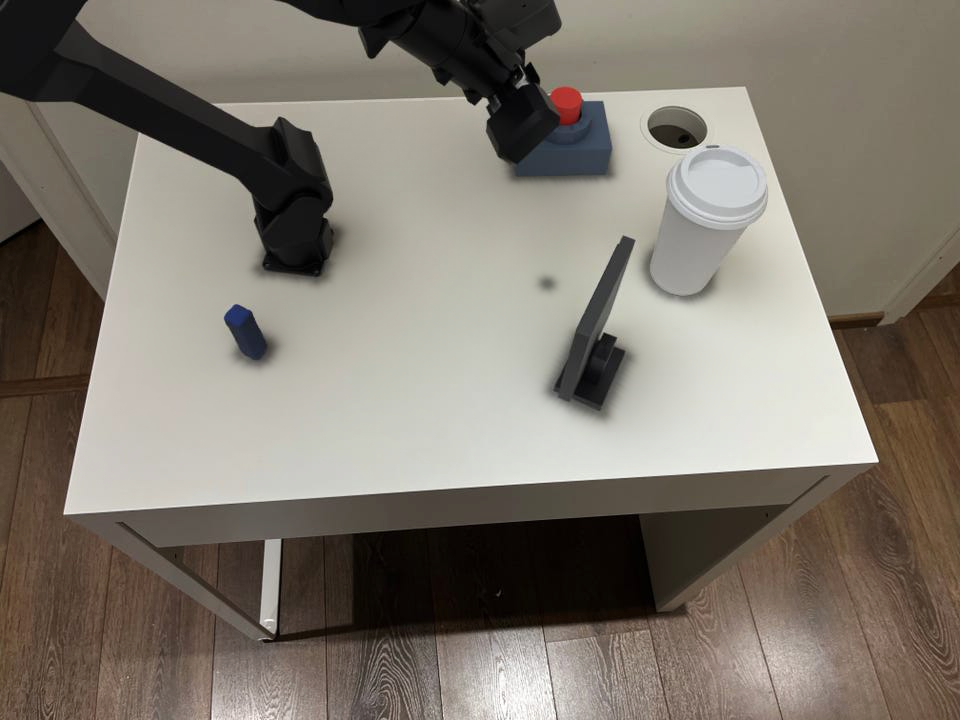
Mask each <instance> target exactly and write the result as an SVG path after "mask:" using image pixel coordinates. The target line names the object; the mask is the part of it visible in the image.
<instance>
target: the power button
mask: <svg viewBox="0 0 960 720" xmlns="http://www.w3.org/2000/svg"><path fill="white" fill-rule="evenodd" d="M549 95H550V98H551V100H552V102H553V103H554V105H555V107H556V109H557V111H558V112H559V114H560V116H561V120H560V123H559V125H572V124H574V123H576V122H577V120H578V118H579V113H580V108H581V103H582V99H583V96H582V94H581V92H580V91H579V90H577V89H576V88H573V87H570V86H559V87H556V88H555V89H553V90H552V91H551V93H550V94H549Z"/></svg>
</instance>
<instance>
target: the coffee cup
mask: <svg viewBox="0 0 960 720" xmlns="http://www.w3.org/2000/svg"><path fill="white" fill-rule="evenodd" d="M665 189H666V194H667V196H666V199H665V204H664V209H663V212H662V216H661V220H660V224H659V228H658V231H657V236H656V240H655V244H654V247H653V252H652V256H651V260H650V264H649V272H650V276H651V278H652V280H653V281H654V283H655V284H656V285H657V286H658V287H659V288H660V289H662V290H663V291H665V292H666V293H668V294H671V295H675V296H682V297H683V296H691V295H695V294H697V293H699V292H701V291H702V290H703V289H704V288H705V287H706V286H707V284H708V283H709V282H710V280H711V279H712V277H713V276H714V274H715V273H716V272H717V270H718V269H719V268H720V265H721V264H722V263H723V262H724V260H725V259H726V258H727V256H728V254H730V252H731V250H733V248H734V246H735V245H736V243H737V242H738V241H739V239H740V238H741V236H742V235H743V234H744V232H746V229H747V228H748V227H749V226H750V225H752V224H754V223H756V222H757V221H758V220H759V219H760V218H761V217H762V216H763V214H764V213H765V211H766V208H767V206H768V201H769V187H768V179H767V174H766V172H765V170H764V168H763V166H762V165H761V163H760V162H759V161H758V160H757V159H756V158H755V157H754V156H753V155H751V154H750V153H748V152H747V151H745V150H743V149H741V148H739V147H737V146H736V147H735V146H732V145H729V144H724V143H723V144H722V143H708V144H704V145H703V144H702V145H699V146H697V147H695V148H694V149H691V150H690V151H689V152H688V153H687V154H685V155H683V156H682V157H680V158H679V159H678V160H677V161H676V162H675V163H674V165H673V166H672V167H671V168H670V170H669V172H668V173H667V176H666V179H665Z"/></svg>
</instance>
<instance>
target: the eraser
mask: <svg viewBox="0 0 960 720" xmlns="http://www.w3.org/2000/svg"><path fill="white" fill-rule="evenodd" d="M223 321H224V323H225V325H226V327H227V328H228V329H229V332H230V333H231V335H232V336H233V338H234V340H235V342H236V344H237V346H238V348H239V350H240V351H241V353H242V354H243V355H244V356H247V357H248V358H249V359H251V360H254V361H255V360H257V361H258V360H259V359H260V358H262V357H263V356H264V354H265V352H266V351H267V349H268V344H267V343H268V342H267V341H266V338H265V336H264V335H263V333H262V330H261V328H260V327H259V324H258V323H257V320H256V318H255V316H254V313H253V312H252V310H251V309H248V308H246V307H245V306H243V305H240V304H238V303H236V304H233V305H232V306H231V308H230V309H228V310H226V312H225V314H224V316H223Z"/></svg>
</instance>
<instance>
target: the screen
mask: <svg viewBox="0 0 960 720" xmlns="http://www.w3.org/2000/svg"><path fill="white" fill-rule="evenodd" d="M635 244H636V239H635V238H632V237H629V236H626V235H624V234H623V235H622V236H621V238H620V240H619V242H618V243H617V244H616V246H615V248H614V250H613V252H612V253H611V256H610V258H609V260H608V262H607V264H606V267H605V269H604V270H603V273H602V275H601V277H600V279H599V281H598V283H597V285H596V287H595V290H594V291H593V293H592V295H591V298H590V300H589V302H588V304H587V306H586V308H585V309H584V312H583V315H582V316H581V318H580V320H579V322H578V324H577V327H576V329H575V332H574V335H573V339H572V342H571V345H570V350H569V352H568V353H569V354H568V356H567V359H568V360H567V359H566V361H567V363H566V362H565V363H566V367H565V371H564V374H563V378H562V381H561V385H560V391H559V393H558V394H557V398H558V399H561V400H562V401H564V402H565V401H566V402H567V403H570V402H571V400H572V399H571V398H572V396H573V393H574V391H575V389H576V387H577V385H578V383H579V380H580V378H581V376H582V374H583V372H584V370H585V367H586V365H587V363H588V361H589V359H590V357H591V354H592V352H593V350H594V348H595V346H596V344H597V341H598V340H600V338H601V336H602V334H603V331H604V328H605V326H606V324H607V322H608V320H609V318H610V316H611V313H612V310H613V308H614V307H613V306H614V304H615V302H616V298H617V296H618V292H619V289H620V287H621V284H622V281H623V278H624V276H625V273H626V269H627V267H628V264H629V261H630V258H631V255H632V252H633V250H634V248H635V247H634V246H635Z"/></svg>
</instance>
